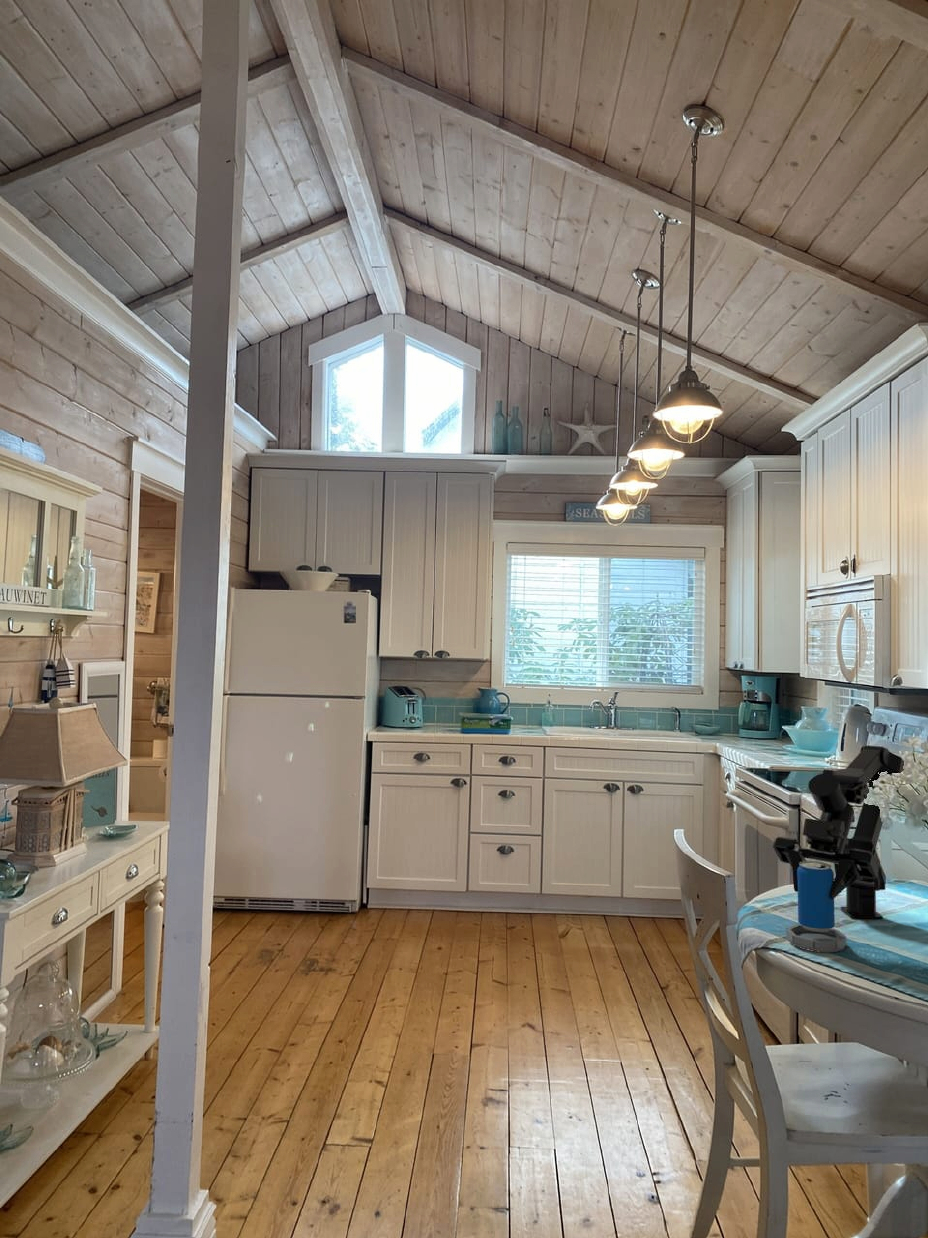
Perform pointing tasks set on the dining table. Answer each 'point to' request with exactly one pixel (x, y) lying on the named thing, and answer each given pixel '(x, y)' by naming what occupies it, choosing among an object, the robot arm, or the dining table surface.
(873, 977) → the dining table surface
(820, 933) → the tray
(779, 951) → the dining table surface
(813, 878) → the beverage can
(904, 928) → the dining table surface
